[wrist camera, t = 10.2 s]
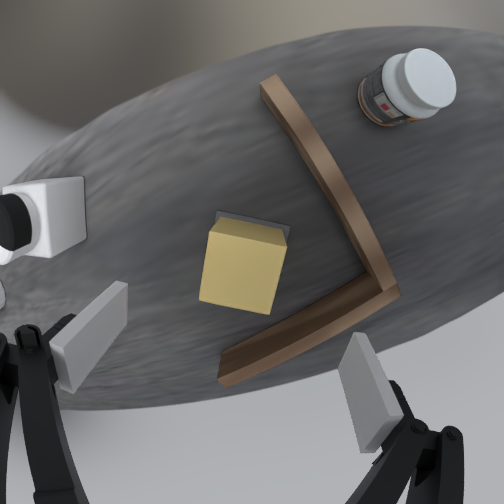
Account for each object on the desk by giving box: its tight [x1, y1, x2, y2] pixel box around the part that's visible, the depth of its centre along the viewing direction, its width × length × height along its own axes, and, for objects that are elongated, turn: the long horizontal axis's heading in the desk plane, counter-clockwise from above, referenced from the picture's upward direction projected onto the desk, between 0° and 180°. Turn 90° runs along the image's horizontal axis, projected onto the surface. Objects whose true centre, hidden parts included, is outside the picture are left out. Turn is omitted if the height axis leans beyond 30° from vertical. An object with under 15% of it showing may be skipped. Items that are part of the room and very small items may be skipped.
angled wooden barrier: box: [217, 74, 402, 388], centre depth 26 cm, size 22×20×5 cm
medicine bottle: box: [0, 177, 87, 265], centre depth 23 cm, size 7×7×12 cm
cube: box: [199, 217, 287, 315], centre depth 26 cm, size 6×6×6 cm
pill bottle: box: [358, 48, 456, 126], centre depth 19 cm, size 6×6×10 cm
